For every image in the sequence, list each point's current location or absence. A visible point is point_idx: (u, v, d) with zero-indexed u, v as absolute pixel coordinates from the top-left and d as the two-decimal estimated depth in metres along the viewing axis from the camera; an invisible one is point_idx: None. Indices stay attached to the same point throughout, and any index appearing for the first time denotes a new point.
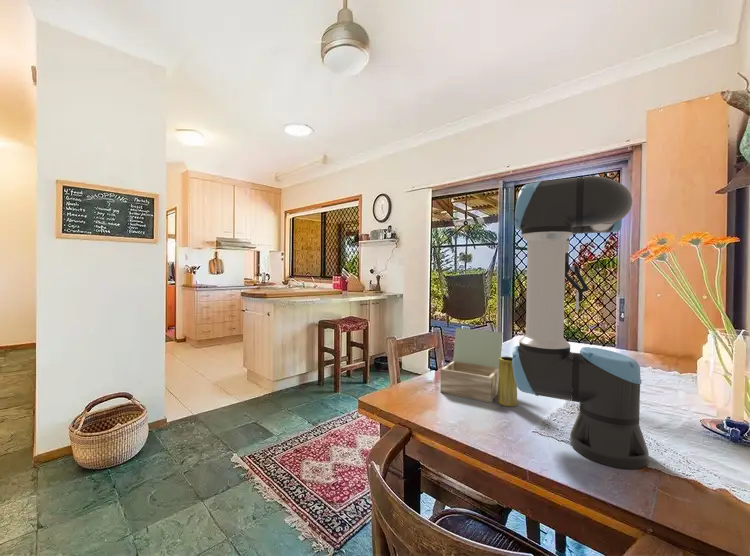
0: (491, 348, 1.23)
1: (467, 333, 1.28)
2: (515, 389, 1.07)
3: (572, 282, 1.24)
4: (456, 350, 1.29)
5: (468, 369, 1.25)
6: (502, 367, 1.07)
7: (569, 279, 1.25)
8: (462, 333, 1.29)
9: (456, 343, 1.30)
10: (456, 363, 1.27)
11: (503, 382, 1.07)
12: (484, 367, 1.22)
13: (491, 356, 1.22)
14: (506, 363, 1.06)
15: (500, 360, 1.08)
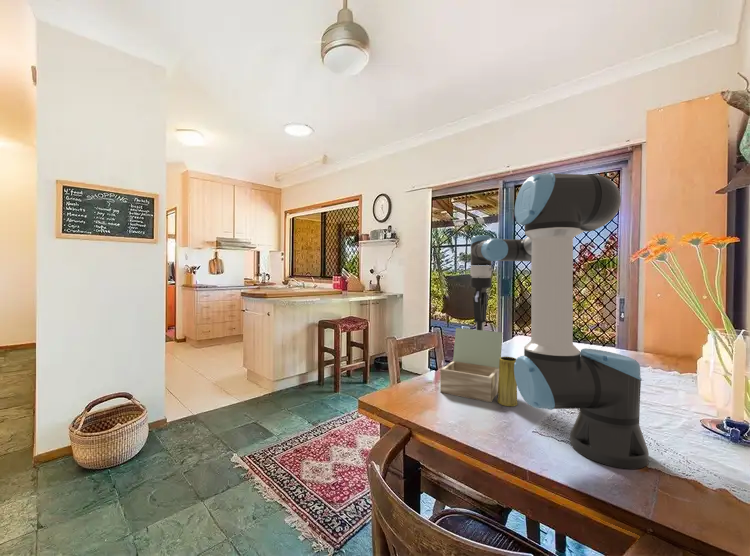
0: (491, 348, 1.23)
1: (467, 333, 1.28)
2: (515, 389, 1.07)
3: None
4: (456, 350, 1.29)
5: (468, 369, 1.25)
6: (502, 367, 1.07)
7: None
8: (462, 333, 1.29)
9: (456, 343, 1.30)
10: (456, 363, 1.27)
11: (503, 382, 1.07)
12: (484, 367, 1.22)
13: (491, 356, 1.22)
14: (506, 363, 1.06)
15: (500, 360, 1.08)
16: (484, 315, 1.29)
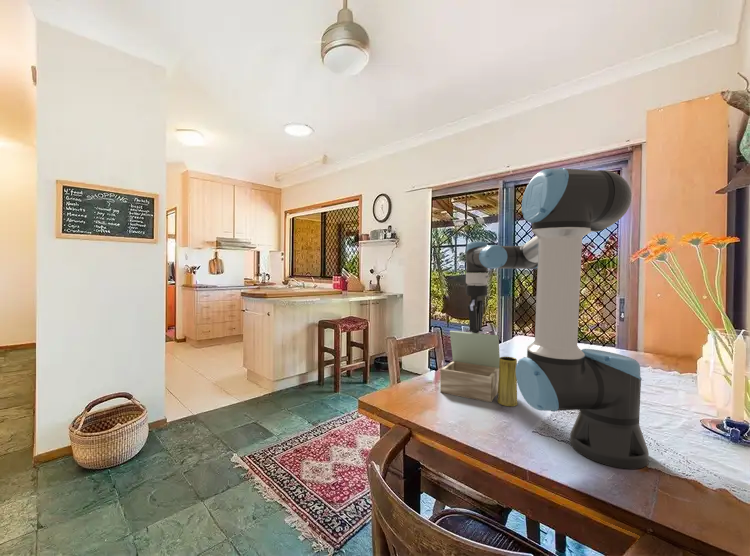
0: (489, 350, 1.20)
1: (462, 336, 1.23)
2: (515, 389, 1.07)
3: None
4: (454, 352, 1.27)
5: (468, 369, 1.25)
6: (502, 367, 1.07)
7: None
8: (457, 336, 1.24)
9: (453, 345, 1.26)
10: (456, 363, 1.27)
11: (503, 382, 1.07)
12: (484, 367, 1.22)
13: (490, 358, 1.20)
14: (506, 363, 1.06)
15: (500, 360, 1.08)
16: (480, 324, 1.24)
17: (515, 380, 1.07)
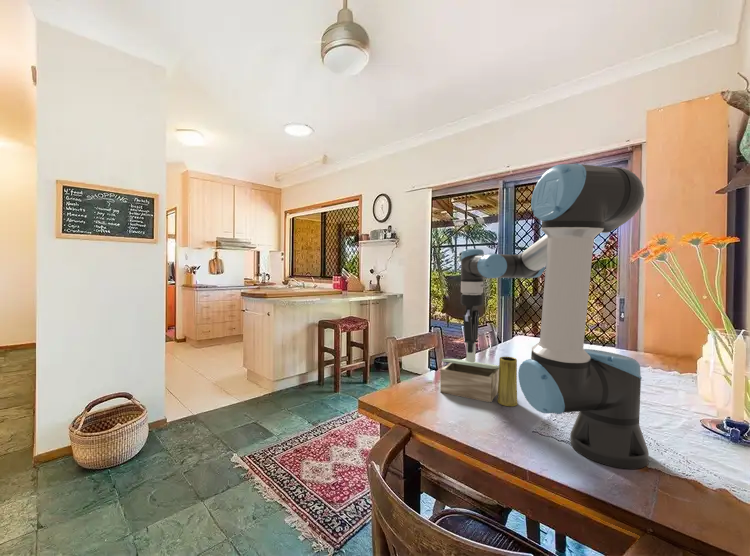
0: None
1: None
2: (515, 389, 1.07)
3: None
4: None
5: (468, 369, 1.25)
6: (502, 367, 1.07)
7: None
8: None
9: None
10: None
11: (503, 382, 1.07)
12: None
13: None
14: (506, 363, 1.06)
15: (500, 360, 1.08)
16: (475, 335, 1.19)
17: (515, 380, 1.07)
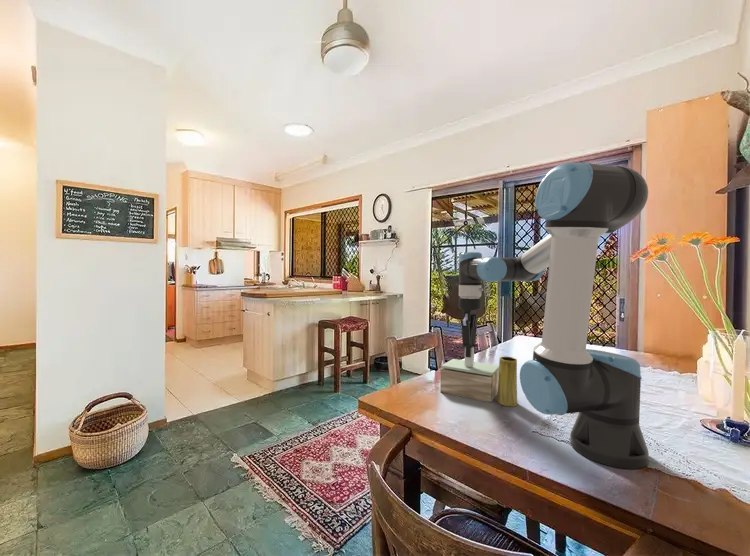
0: None
1: None
2: (515, 389, 1.07)
3: None
4: None
5: None
6: (502, 367, 1.07)
7: None
8: None
9: None
10: None
11: (503, 382, 1.07)
12: None
13: None
14: (506, 363, 1.06)
15: (500, 360, 1.08)
16: (474, 339, 1.17)
17: (515, 380, 1.07)
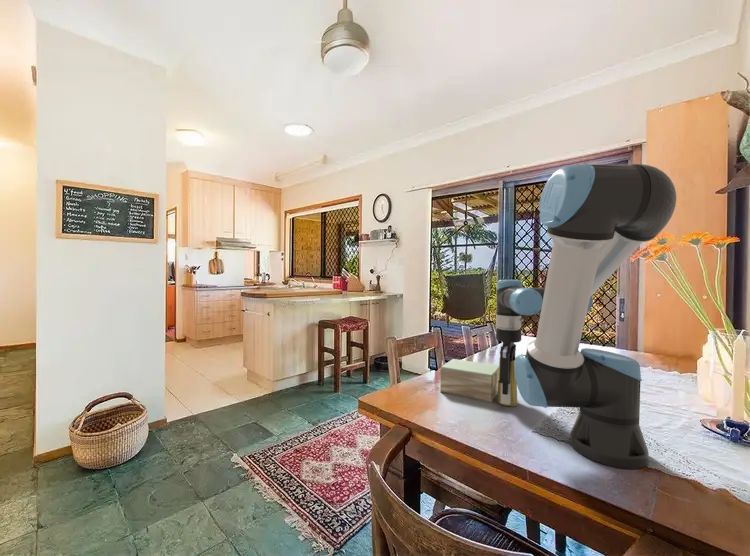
0: None
1: None
2: (515, 389, 1.07)
3: None
4: None
5: None
6: None
7: None
8: None
9: None
10: None
11: None
12: None
13: None
14: None
15: None
16: None
17: (515, 380, 1.07)
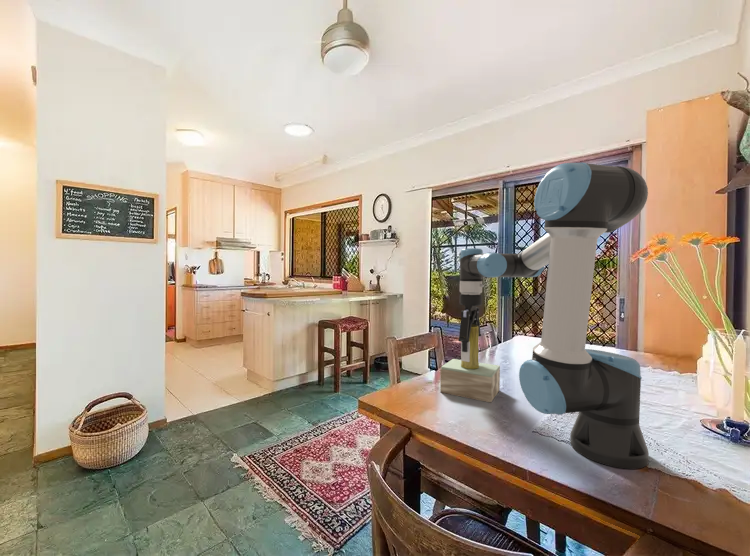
0: None
1: None
2: (476, 353, 1.16)
3: None
4: None
5: None
6: None
7: None
8: None
9: None
10: None
11: None
12: None
13: None
14: None
15: None
16: None
17: (476, 345, 1.16)
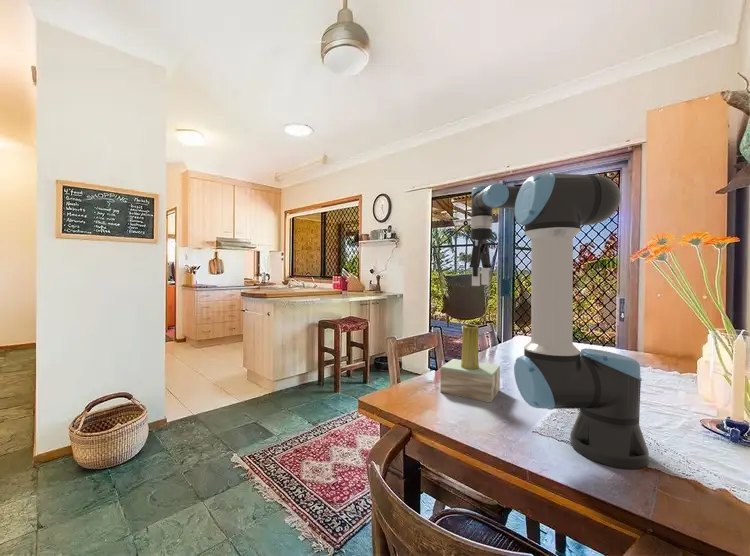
0: None
1: None
2: (476, 353, 1.16)
3: None
4: None
5: None
6: (465, 333, 1.16)
7: None
8: None
9: None
10: None
11: (465, 347, 1.16)
12: None
13: None
14: (468, 330, 1.16)
15: (463, 327, 1.17)
16: (488, 262, 1.33)
17: (476, 345, 1.16)
